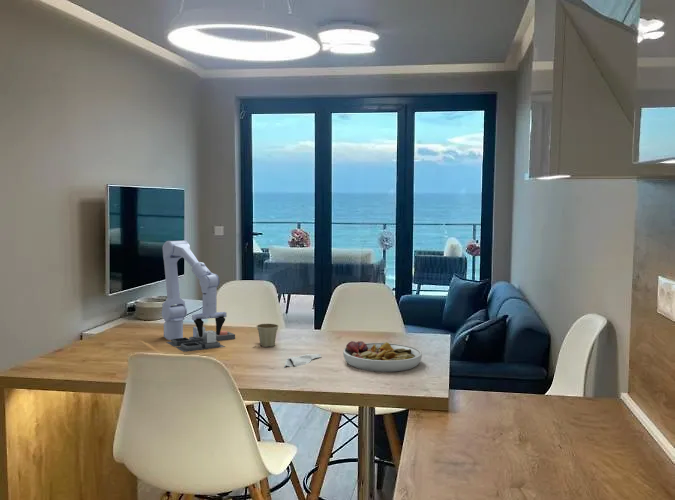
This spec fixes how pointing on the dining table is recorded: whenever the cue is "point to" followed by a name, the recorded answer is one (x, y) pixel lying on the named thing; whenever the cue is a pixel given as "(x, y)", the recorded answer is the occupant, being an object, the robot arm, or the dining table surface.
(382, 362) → the bowl
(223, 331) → the button
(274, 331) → the flower pot
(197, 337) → the billet
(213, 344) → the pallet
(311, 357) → the cloth
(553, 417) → the dining table surface
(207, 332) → the billet
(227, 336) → the box
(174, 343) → the pallet
